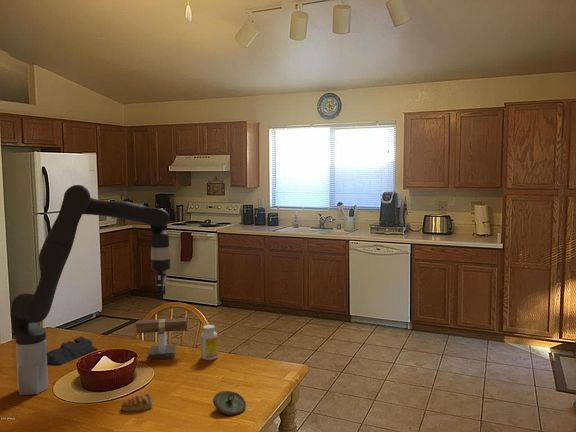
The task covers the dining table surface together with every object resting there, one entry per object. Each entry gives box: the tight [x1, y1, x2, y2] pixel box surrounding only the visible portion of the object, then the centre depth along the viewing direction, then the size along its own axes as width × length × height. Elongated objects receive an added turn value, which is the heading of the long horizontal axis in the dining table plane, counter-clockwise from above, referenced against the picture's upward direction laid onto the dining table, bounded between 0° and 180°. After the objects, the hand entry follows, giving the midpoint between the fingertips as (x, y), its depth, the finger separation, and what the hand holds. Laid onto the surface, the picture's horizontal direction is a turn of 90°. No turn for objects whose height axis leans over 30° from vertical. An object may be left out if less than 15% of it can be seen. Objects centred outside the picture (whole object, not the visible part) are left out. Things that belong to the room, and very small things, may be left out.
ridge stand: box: [148, 332, 177, 360], centre depth 201 cm, size 10×10×10 cm
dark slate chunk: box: [47, 336, 98, 366], centre depth 201 cm, size 15×22×5 cm
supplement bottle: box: [200, 324, 219, 361], centre depth 197 cm, size 7×7×13 cm
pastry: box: [120, 392, 153, 413], centre depth 155 cm, size 9×7×4 cm
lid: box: [212, 390, 247, 416], centre depth 153 cm, size 11×10×5 cm
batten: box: [135, 317, 188, 334], centre depth 200 cm, size 4×20×4 cm, turn 99°
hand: (161, 297), depth 199 cm, fingers open, 8 cm apart
